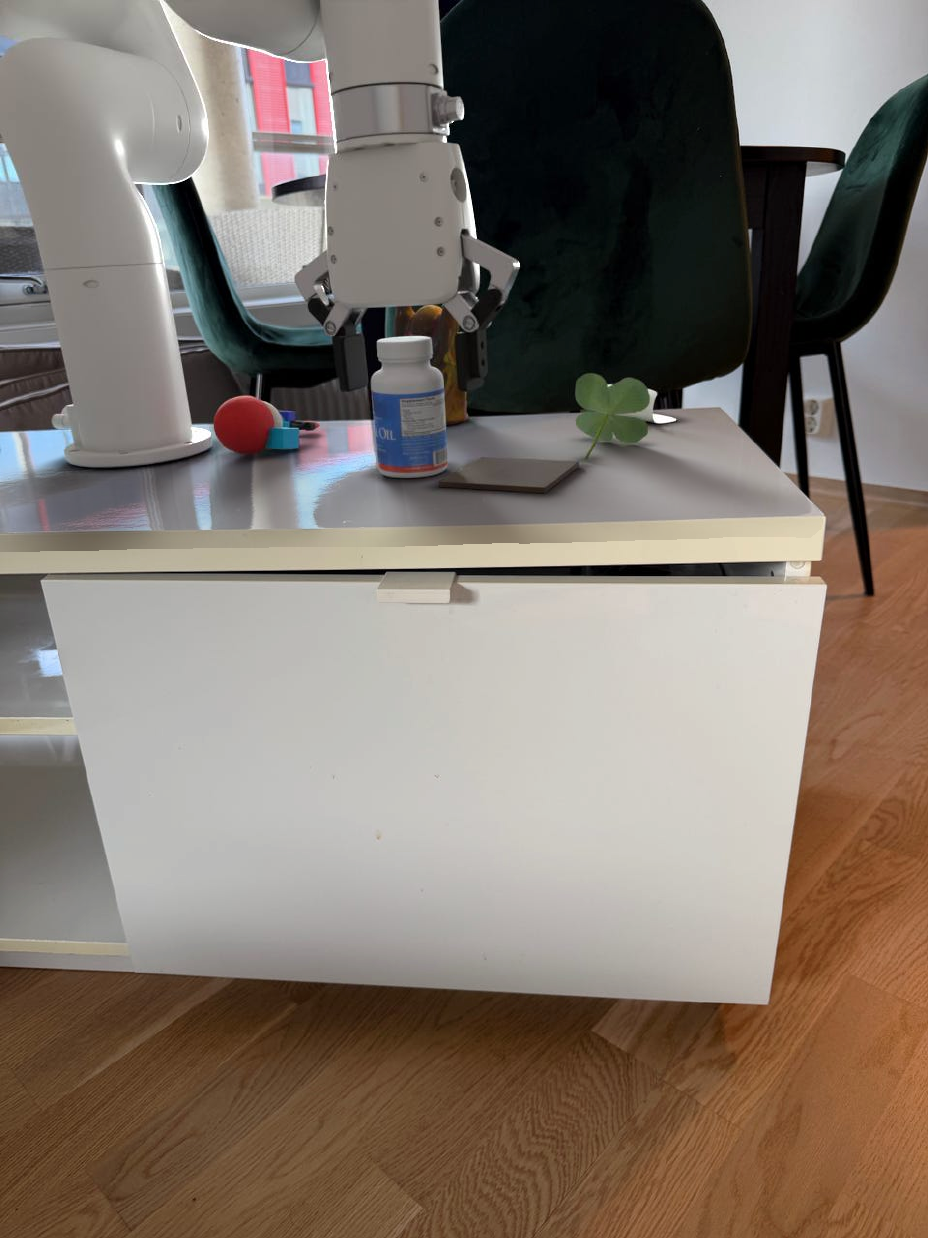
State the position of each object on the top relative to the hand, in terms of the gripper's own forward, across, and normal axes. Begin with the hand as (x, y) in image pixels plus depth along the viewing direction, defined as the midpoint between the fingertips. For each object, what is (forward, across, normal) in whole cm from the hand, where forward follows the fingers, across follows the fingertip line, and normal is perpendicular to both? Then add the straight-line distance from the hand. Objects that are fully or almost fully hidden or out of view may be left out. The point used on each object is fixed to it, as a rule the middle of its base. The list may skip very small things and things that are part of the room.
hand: (411, 388), depth 65 cm
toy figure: (+6, +18, -6) cm, 20 cm away
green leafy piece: (+6, -11, -10) cm, 17 cm away
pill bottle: (+6, 0, 0) cm, 6 cm away
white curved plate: (+6, -11, -24) cm, 28 cm away
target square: (+6, -8, 0) cm, 10 cm away
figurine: (+6, +7, -20) cm, 22 cm away
